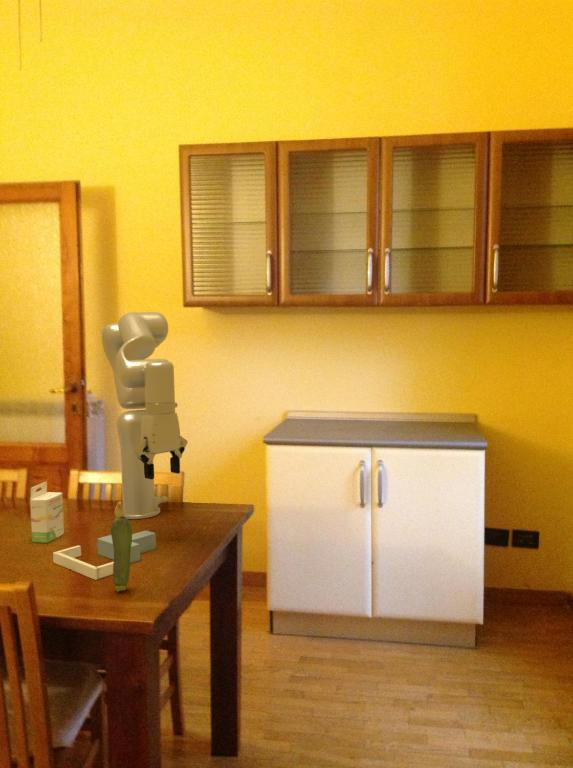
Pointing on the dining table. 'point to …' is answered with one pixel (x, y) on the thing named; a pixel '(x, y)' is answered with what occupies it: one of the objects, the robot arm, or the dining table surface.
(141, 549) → the t block
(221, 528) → the dining table surface
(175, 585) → the dining table surface
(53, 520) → the ink box
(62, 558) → the dock
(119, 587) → the vegetable
